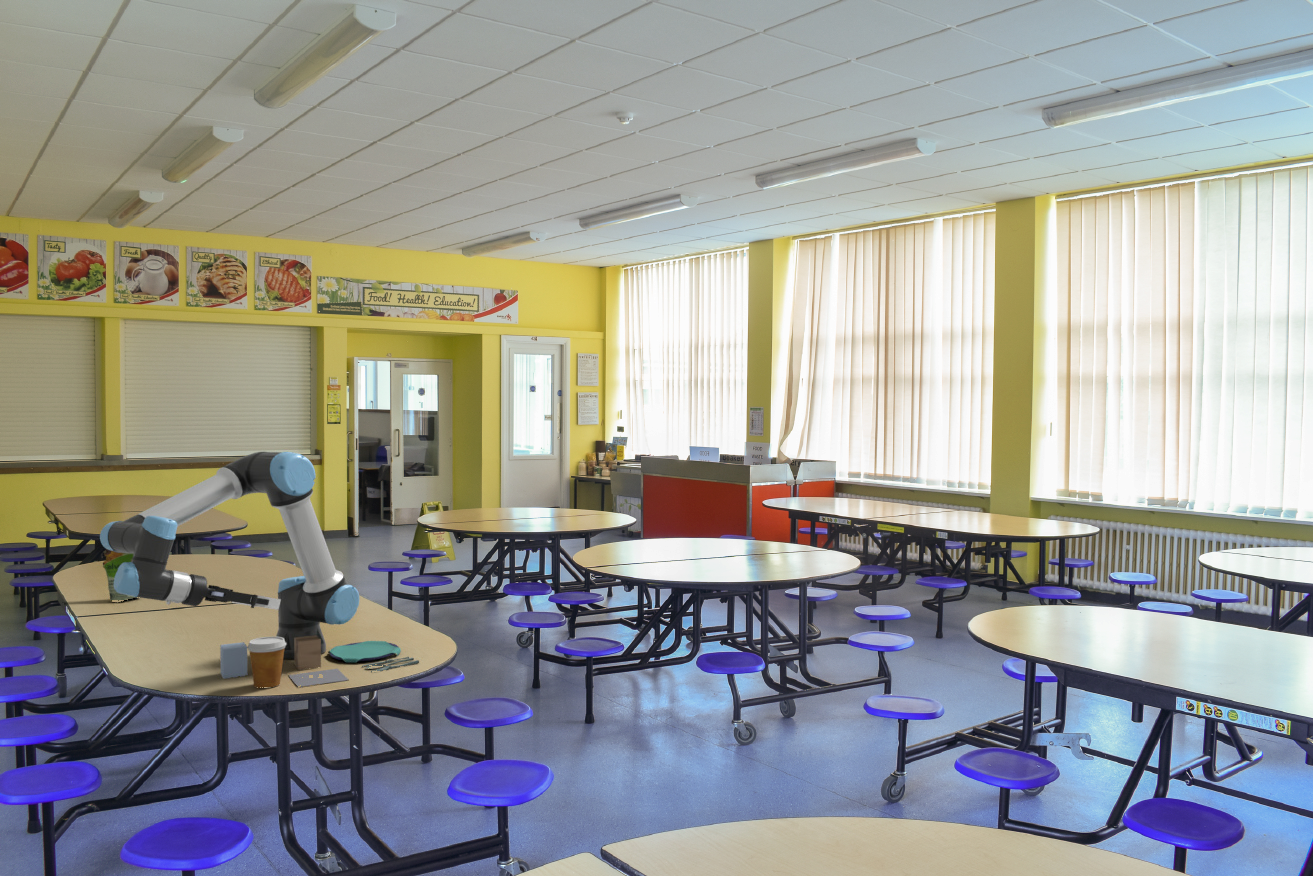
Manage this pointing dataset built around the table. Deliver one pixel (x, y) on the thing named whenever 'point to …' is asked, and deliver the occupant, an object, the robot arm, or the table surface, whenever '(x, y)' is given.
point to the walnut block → (307, 652)
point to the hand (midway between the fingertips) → (267, 603)
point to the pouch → (112, 567)
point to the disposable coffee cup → (266, 660)
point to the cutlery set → (370, 653)
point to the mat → (328, 677)
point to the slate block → (233, 660)
